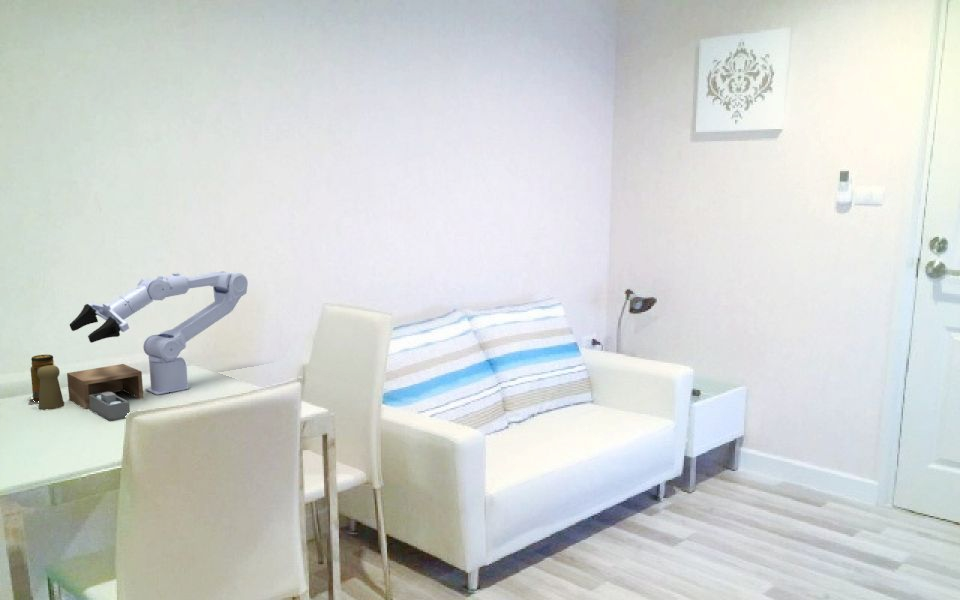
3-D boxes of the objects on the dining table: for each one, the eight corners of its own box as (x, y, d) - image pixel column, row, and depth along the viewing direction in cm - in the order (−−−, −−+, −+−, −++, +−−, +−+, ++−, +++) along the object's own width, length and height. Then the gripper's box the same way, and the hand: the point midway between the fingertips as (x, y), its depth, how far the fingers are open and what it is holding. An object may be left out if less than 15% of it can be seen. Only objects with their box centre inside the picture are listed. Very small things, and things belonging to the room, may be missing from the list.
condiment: (60, 394, 220) (56, 352, 218) (59, 401, 213) (55, 358, 211) (31, 397, 217) (26, 355, 215) (28, 405, 209) (24, 361, 208)
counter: (125, 389, 224) (123, 363, 223) (143, 397, 215) (141, 371, 214) (69, 399, 214) (66, 373, 213) (85, 409, 205) (83, 381, 204)
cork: (53, 410, 204) (49, 369, 203) (33, 409, 205) (29, 368, 204) (69, 403, 210) (66, 364, 208) (50, 402, 211) (46, 363, 210)
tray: (109, 406, 208) (108, 387, 207) (130, 417, 198) (128, 397, 197) (90, 409, 204) (88, 390, 203) (109, 421, 194) (108, 401, 194)
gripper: (103, 284, 212) (58, 311, 203) (138, 305, 206) (93, 333, 197) (110, 304, 216) (66, 331, 207) (145, 325, 210) (101, 353, 202)
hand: (80, 333), depth 203 cm, fingers open, 7 cm apart
